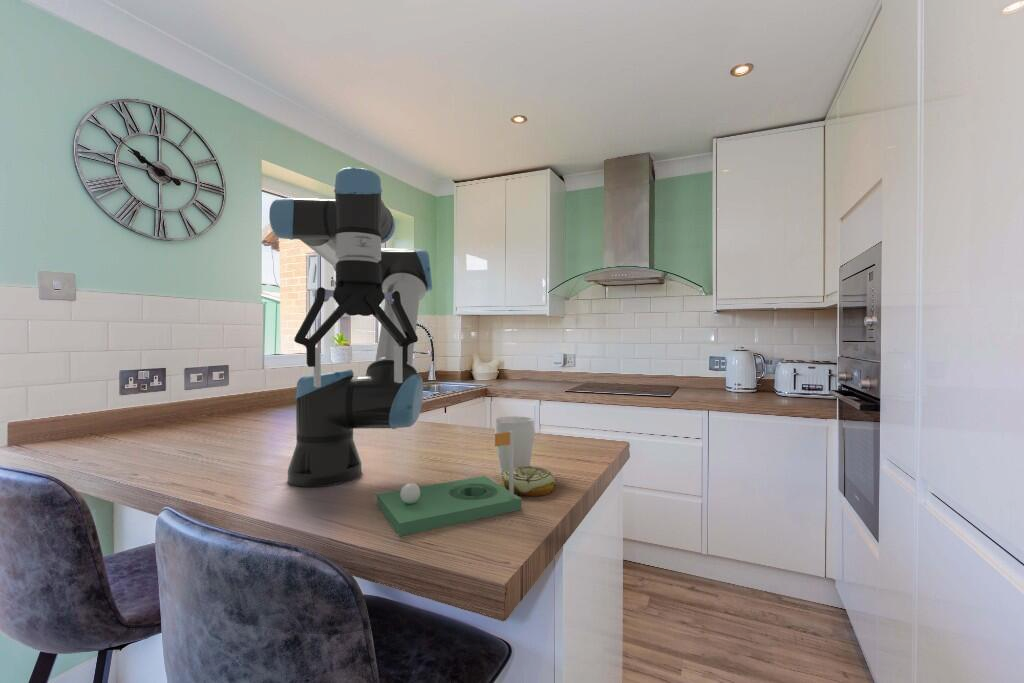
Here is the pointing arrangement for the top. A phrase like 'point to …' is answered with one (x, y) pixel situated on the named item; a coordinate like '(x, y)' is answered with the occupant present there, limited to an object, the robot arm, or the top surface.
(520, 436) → the cup
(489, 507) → the green
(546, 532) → the top surface
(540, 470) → the decorated donut
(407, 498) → the ball
